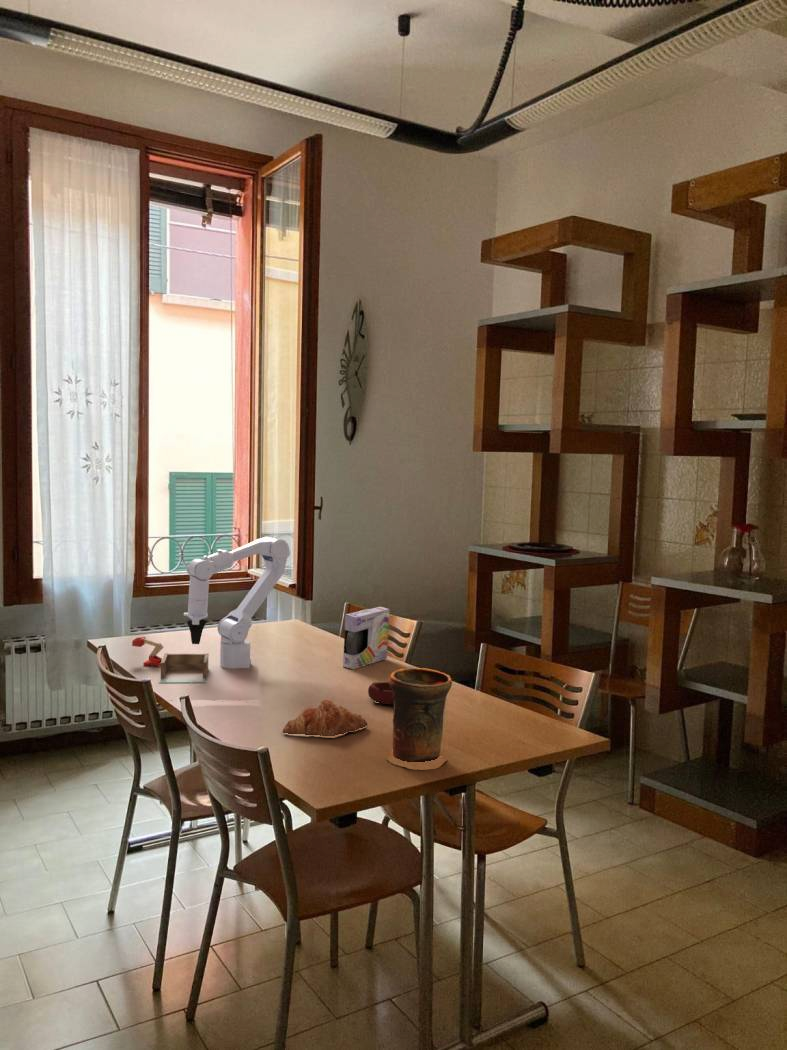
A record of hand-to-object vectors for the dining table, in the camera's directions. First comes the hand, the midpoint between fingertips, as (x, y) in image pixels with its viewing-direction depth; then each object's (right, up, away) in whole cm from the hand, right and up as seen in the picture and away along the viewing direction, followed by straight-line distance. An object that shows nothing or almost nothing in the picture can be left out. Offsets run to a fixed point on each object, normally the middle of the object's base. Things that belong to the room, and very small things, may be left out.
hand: (195, 643), depth 261 cm
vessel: (+65, -19, -62) cm, 91 cm away
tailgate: (-1, -9, -9) cm, 13 cm away
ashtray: (+63, -14, -17) cm, 67 cm away
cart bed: (-2, -10, -4) cm, 11 cm away
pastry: (+43, -16, -45) cm, 64 cm away
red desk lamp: (-13, -9, +4) cm, 17 cm away
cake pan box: (+50, -10, +21) cm, 56 cm away
